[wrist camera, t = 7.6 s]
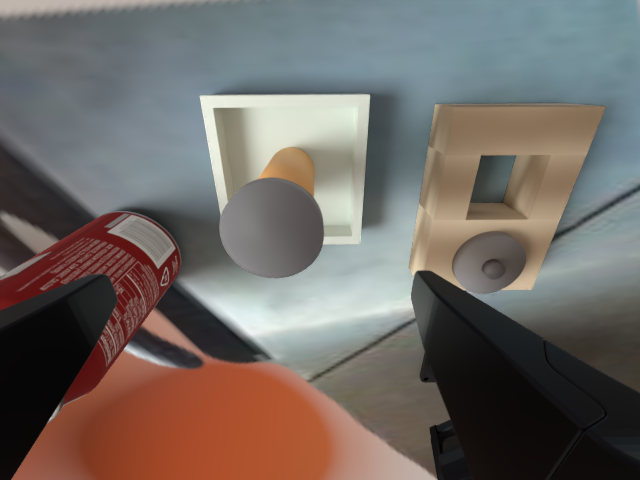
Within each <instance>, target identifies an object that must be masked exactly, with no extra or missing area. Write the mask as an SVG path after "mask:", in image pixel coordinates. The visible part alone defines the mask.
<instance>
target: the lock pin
mask: <svg viewBox="0 0 640 480" xmlns="http://www.w3.org/2000/svg"><path fill="white" fill-rule="evenodd" d="M314 172H315V170H314V164H313V161H312V160H311V158H310V156H309V155H308V154H307V153H306V152H304V151H303V150H301V149H298V148H294V147H288V148H284V149H281V150H279V151H278V152H277V153H276V154H275V155H274V156H273V157H272V159H271V160H270V162H269V163H268V165H267V166H266V168H265V169H264V171H263V172H262V174H261V175H260V177H259V178H258V179H257V180H254V181H251V182H249V183H247V184H245V185H244V186H243V187H241V188H240V189H239V190H238V191H237V192H236V193H235V194H234V195H233V196H232V198H231V199H230V200H229V202H228V203H227V204H226V206H225V208H224V209H223V212H222V214H221V218H220V223H219V232H220V238H221V242H222V244H223V246H224V248H225V250H226V252H227V253H228V255H229V256H230V258H231V259H232V260H233V261H234V262H235V263H236V264H238V265H239V266H240V267H242V268H243V269H245V270H246V271H248V272H250V273H253V274H255V275H258V276H262V277H267V278H283V277H288V276H292V275H295V274H297V273H299V272H301V271H303V270H305V269H306V268H307V267H308V266H310V265H311V264H312V263H313V262H314V260H315V259H316V258H317V256H318V255H319V253H320V251H321V248H322V245H323V241H324V224H323V216H322V212H321V210H320V207H319V205H318V203H317V202H316V200H315V199H314Z"/></svg>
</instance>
